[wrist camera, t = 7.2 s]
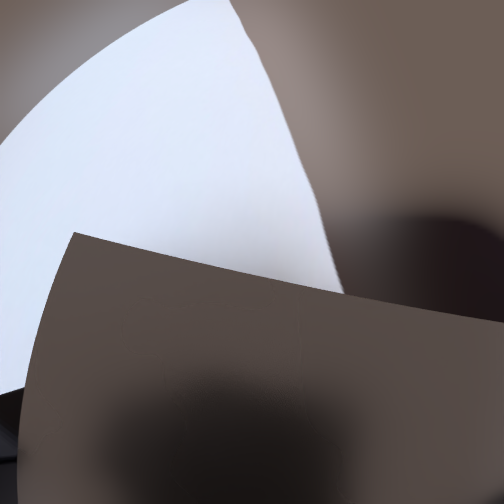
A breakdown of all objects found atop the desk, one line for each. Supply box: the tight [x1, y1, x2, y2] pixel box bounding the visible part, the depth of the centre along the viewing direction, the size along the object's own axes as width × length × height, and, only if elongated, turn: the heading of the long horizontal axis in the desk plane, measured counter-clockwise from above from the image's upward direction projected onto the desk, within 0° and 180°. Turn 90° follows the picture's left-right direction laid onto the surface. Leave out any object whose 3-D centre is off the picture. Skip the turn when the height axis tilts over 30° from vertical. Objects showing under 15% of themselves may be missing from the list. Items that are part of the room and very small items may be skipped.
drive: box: [17, 232, 504, 504], centre depth 7 cm, size 3×6×12 cm, turn 78°
